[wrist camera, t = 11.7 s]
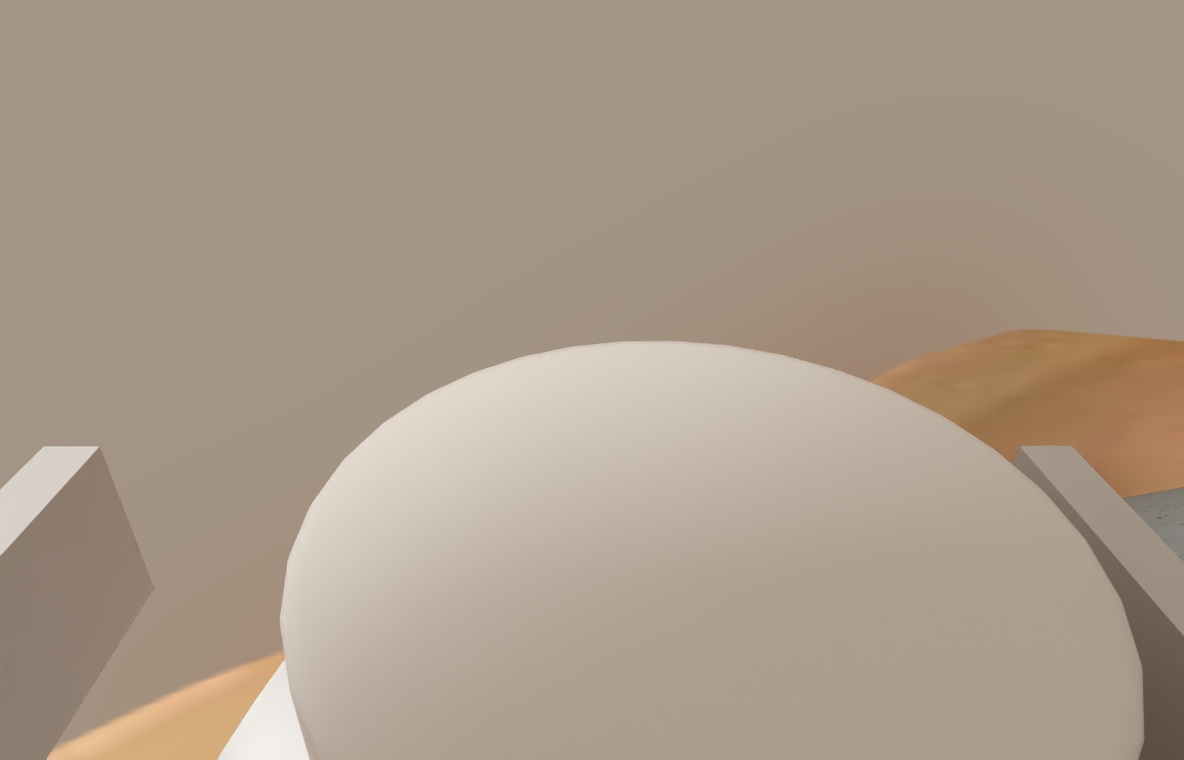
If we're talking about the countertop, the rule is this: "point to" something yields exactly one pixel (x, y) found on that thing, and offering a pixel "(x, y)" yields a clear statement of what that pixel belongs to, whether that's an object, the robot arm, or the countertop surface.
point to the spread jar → (689, 579)
